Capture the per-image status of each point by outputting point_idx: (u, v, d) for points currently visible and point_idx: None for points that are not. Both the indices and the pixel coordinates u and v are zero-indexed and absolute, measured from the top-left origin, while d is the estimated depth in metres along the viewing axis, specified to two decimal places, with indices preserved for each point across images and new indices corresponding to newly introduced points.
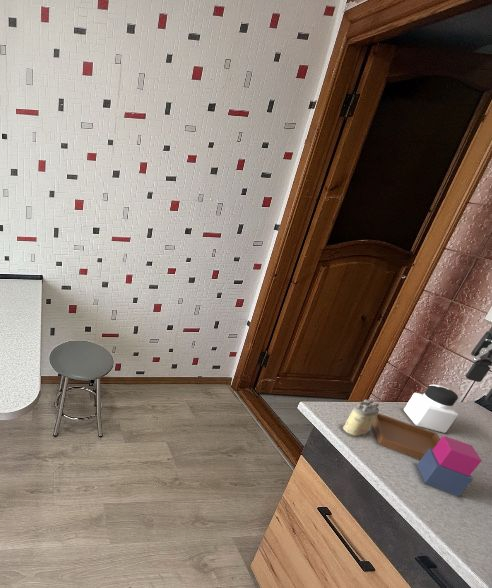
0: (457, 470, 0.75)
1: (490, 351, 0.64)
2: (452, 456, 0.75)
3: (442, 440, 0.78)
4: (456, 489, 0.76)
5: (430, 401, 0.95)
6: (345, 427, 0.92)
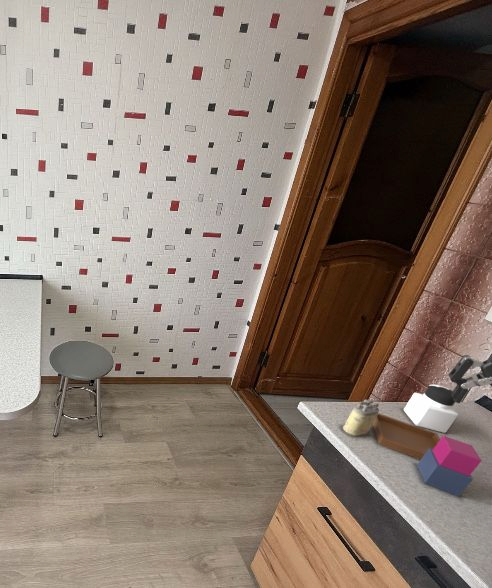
0: (457, 470, 0.75)
1: None
2: (452, 456, 0.75)
3: (442, 440, 0.78)
4: (456, 489, 0.76)
5: (430, 401, 0.95)
6: (345, 427, 0.92)
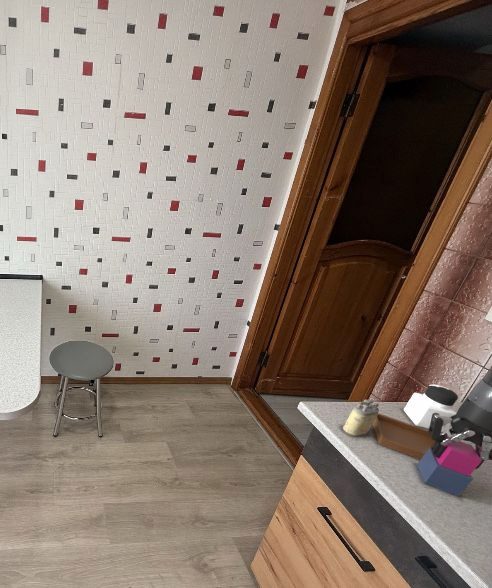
0: (457, 470, 0.75)
1: None
2: (452, 456, 0.75)
3: None
4: (456, 489, 0.76)
5: (430, 401, 0.95)
6: (345, 427, 0.92)
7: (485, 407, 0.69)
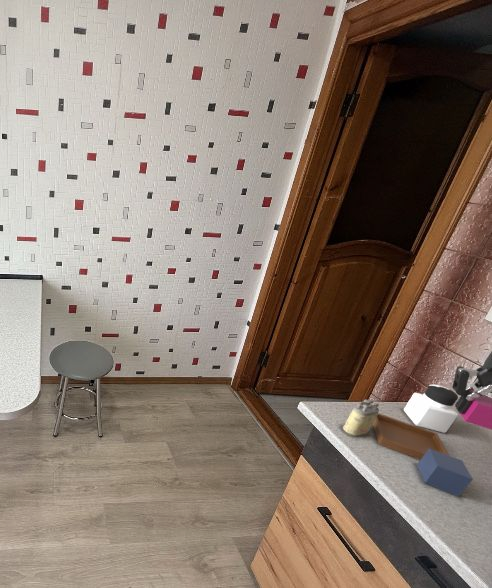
0: (484, 425, 0.71)
1: None
2: (479, 410, 0.71)
3: None
4: (456, 489, 0.76)
5: (430, 401, 0.95)
6: (345, 427, 0.92)
7: None
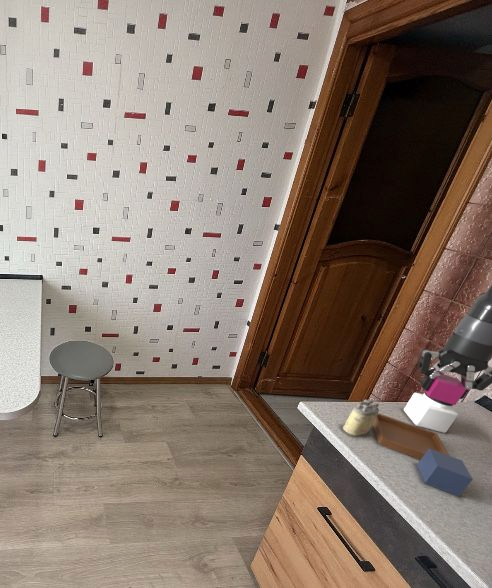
0: (444, 400, 0.82)
1: None
2: (439, 387, 0.81)
3: None
4: (456, 489, 0.76)
5: (430, 401, 0.95)
6: (345, 427, 0.92)
7: (469, 337, 0.76)
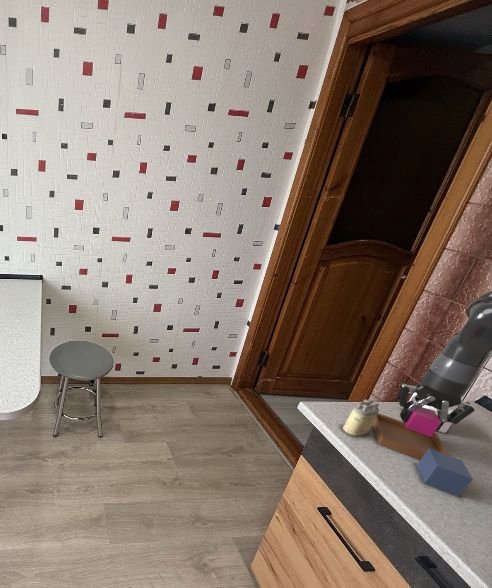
0: (421, 432, 0.86)
1: None
2: (417, 419, 0.86)
3: None
4: (456, 489, 0.76)
5: None
6: (345, 427, 0.92)
7: (443, 375, 0.80)
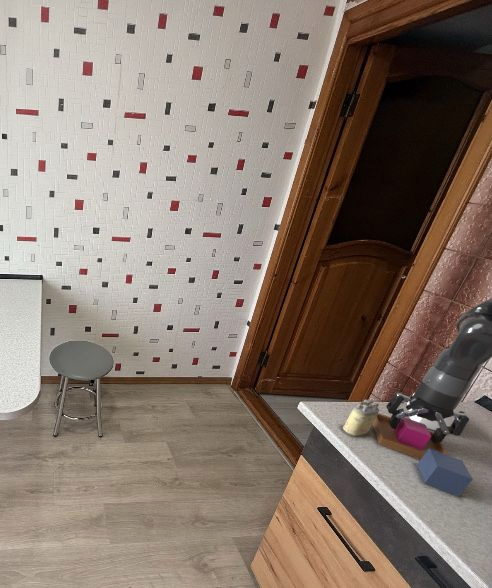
0: (412, 445, 0.88)
1: None
2: (408, 433, 0.88)
3: (401, 420, 0.91)
4: (456, 489, 0.76)
5: None
6: (345, 427, 0.92)
7: (435, 388, 0.82)
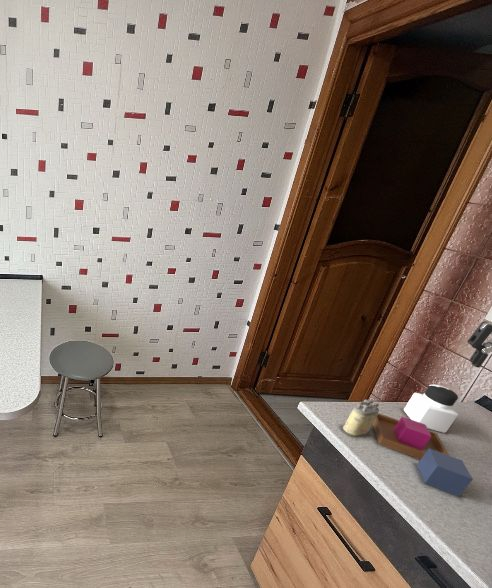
0: (412, 445, 0.88)
1: None
2: (408, 433, 0.88)
3: (401, 420, 0.91)
4: (456, 489, 0.76)
5: (430, 401, 0.95)
6: (345, 427, 0.92)
7: None
